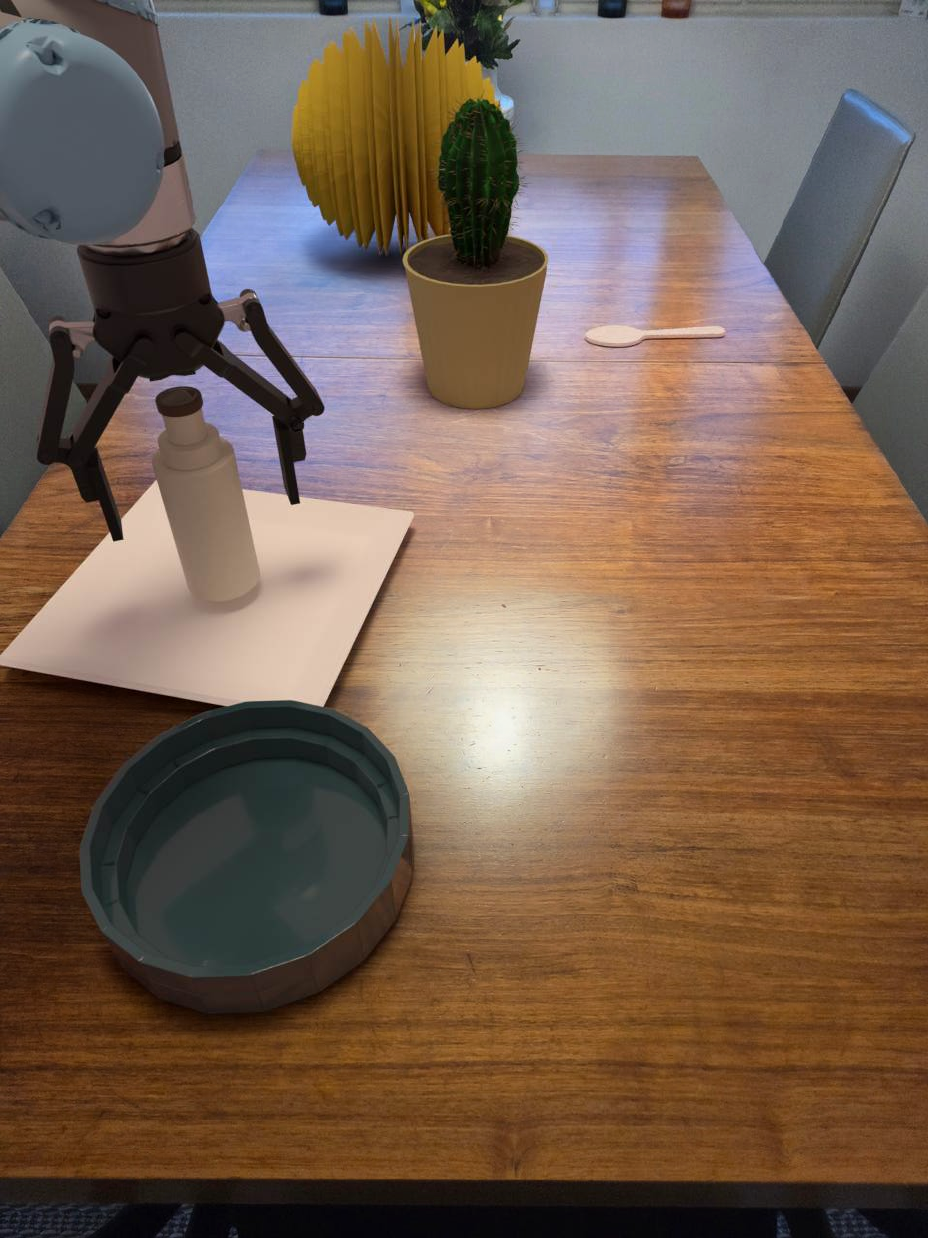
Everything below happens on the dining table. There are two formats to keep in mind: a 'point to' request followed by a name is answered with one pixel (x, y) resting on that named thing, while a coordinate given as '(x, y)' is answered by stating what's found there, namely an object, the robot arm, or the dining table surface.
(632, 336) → the spoon
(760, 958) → the dining table surface
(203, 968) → the bowl
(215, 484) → the bottle
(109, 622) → the beige square board
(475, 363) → the potted cactus
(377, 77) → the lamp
